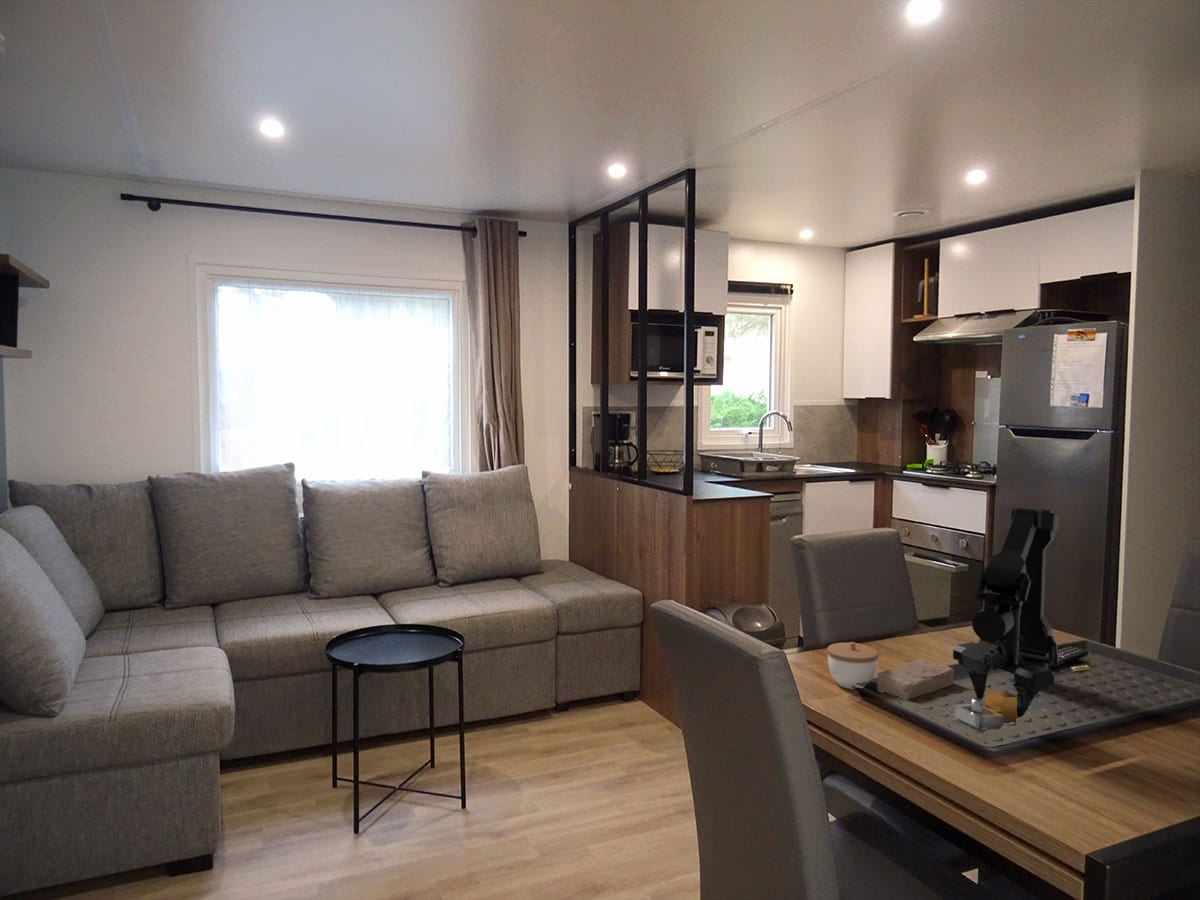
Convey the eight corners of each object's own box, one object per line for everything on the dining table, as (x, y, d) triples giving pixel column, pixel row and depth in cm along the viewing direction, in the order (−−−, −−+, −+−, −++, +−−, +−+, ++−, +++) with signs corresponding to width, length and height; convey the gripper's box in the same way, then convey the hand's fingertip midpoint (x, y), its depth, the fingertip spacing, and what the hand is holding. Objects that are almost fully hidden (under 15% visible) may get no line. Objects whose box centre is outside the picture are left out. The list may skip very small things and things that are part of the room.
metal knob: (974, 717, 157) (975, 692, 156) (1000, 729, 151) (1001, 703, 151) (952, 722, 154) (952, 696, 154) (977, 735, 149) (978, 708, 148)
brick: (907, 704, 165) (908, 682, 165) (873, 692, 172) (874, 670, 172) (954, 688, 174) (955, 667, 174) (920, 677, 181) (921, 657, 181)
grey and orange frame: (1002, 711, 160) (1005, 686, 160) (1030, 723, 154) (1033, 698, 154) (951, 715, 154) (954, 689, 154) (978, 728, 148) (981, 701, 148)
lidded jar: (819, 676, 181) (820, 635, 180) (865, 674, 182) (866, 634, 181) (837, 694, 170) (838, 651, 170) (885, 692, 171) (887, 650, 171)
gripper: (933, 620, 159) (931, 696, 160) (1014, 648, 142) (1011, 733, 143) (974, 614, 163) (971, 688, 165) (1058, 641, 146) (1054, 723, 147)
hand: (999, 707), depth 155 cm, fingers open, 9 cm apart
